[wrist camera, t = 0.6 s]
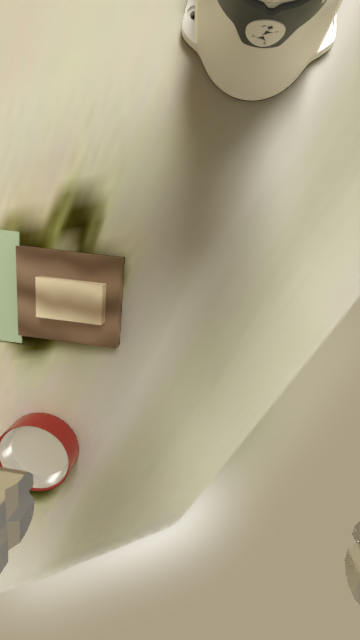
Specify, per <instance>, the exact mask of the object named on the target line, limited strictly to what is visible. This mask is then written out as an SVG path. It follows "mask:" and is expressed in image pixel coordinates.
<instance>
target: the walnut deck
mask: <svg viewBox="0 0 360 640" xmlns="http://www.w3.org/2000/svg"><path fill="white" fill-rule="evenodd" d="M124 263H125V257H117V256H109V255H100V254H91V253H83V252H74V251H65V250H57V249H48V248H40V247H31V246H16V277H17V311H18V335H20V336H28V337H35V338H43V339H50V340H58V341H66V342H73V343H81V344H88V345H96V346H104V347H111V348H117V347H118V345H119V344H120V329H121V313H122V296H123V279H124ZM38 276H48V277H56V278H64V279H72V280H81V281H89V282H97V283H106V284H107V286H106V307H105V322H104V323H103V324H102V325H95V324H87V323H80V322H72V321H64V320H56V319H48V318H41V317H36V286H35V277H38Z"/></svg>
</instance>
